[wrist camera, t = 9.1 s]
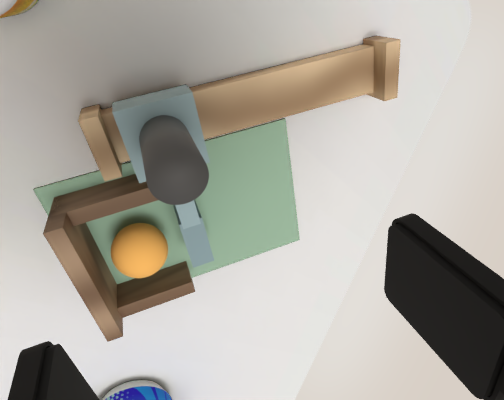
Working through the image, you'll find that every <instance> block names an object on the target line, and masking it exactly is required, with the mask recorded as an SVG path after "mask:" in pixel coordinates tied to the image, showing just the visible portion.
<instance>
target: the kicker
mask: <svg viewBox="0 0 504 400" xmlns="http://www.w3.org/2000/svg"><path fill="white" fill-rule="evenodd" d="M112 113H113V116H114V118H115V121H116V124H117V126H118V129H119V131H120V134H121V137H122V139H123V142H124V145H125V147H126V150H127V152H128V155H129V158H130V160H131V163H132V166H133V168H134V171H135V173H136V176H137V179H138V181H139V183H142V182H147V186H148V188H149V190H150V192H151V194H152V195H153V196H154V197H155V198H156V199H158V200H159V201H161V202H163V203H166V204H170V205H173V206H174V209H175V213H176V217H177V220H178V224H179V227H180V230H181V233H182V236H183V239H184V242H185V245H186V248H187V250H188V253H189V256H190V259H191V262H192V265H193V268H194V267H197V266H200V265H203V264H206V263H209V262H211V261H214V258H213V254H212V251H211V247H210V244H209V240H208V237H207V233H206V230H205V227H204V223H203V220H202V217H201V214H200V212H199V209H198V207H197V204H196V201H195V199H196V198H198V197H199V196H200V195H201V194H202V193H203V191H204V190H205V188H206V186H207V184H208V180H209V170H208V167H207V163H210V160H209V156H208V152H207V148H206V144H205V140H204V137H203V133H202V129H201V125H200V121H199V117H198V113H197V109H196V105H195V101H194V97H193V93H192V91H191V90H190V89H189V87H188V86H187V85H182V86H178V87H174V88H169V89H165V90H161V91H157V92H153V93H149V94H145V95H141V96H137V97H133V98H129V99H125V100H121V101H117V102H113V103H112Z"/></svg>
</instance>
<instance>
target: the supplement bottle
mask: <svg viewBox="0 0 504 400" xmlns="http://www.w3.org/2000/svg"><path fill="white" fill-rule="evenodd" d="M38 1H39V0H0V18H2V17H7V16H13V15H18V14H21V13H23V12H26V11H28V10H29V9H31V8H32V7H33V6H34V5H35V4H36V3H37V2H38Z"/></svg>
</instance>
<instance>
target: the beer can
mask: <svg viewBox="0 0 504 400" xmlns="http://www.w3.org/2000/svg"><path fill="white" fill-rule="evenodd" d="M102 400H172V399H171V396H170V395H169V393H168V392H167V391H165V390H164V389H163V388H162V387H161V386H160V385H159V384H157V383H155V382H153V381H148V380H135V381H130V382H126V383H123V384H121V385H118V386H117V387H115V388H113V389H112V390H110V391H109V392H108V393H107V394H106V395H105V396H104V397H103V398H102Z"/></svg>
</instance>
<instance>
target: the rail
mask: <svg viewBox="0 0 504 400" xmlns="http://www.w3.org/2000/svg"><path fill="white" fill-rule="evenodd" d="M399 56H400V39H394V38H387V37H381V36H373V37H369V38H365V39H363V44H362V45H358V46H354V47H350V48H346V49H342V50H338V51H334V52H330V53H326V54H322V55H318V56H314V57H310V58H306V59H302V60H298V61H294V62H290V63H286V64H282V65H278V66H274V67H270V68H266V69H262V70H258V71H254V72H250V73H246V74H242V75H238V76H234V77H230V78H226V79H222V80H218V81H214V82H210V83H206V84H202V85H198V86H194V87H190V88H189V89H190V90H191V91H192V93H193V97H194V101H195V105H196V109H197V113H198V117H199V121H200V125H201V129H202V133H203V137H204V139H208V138H212V137H215V136H219V135H222V134H226V133H229V132H233V131H237V130H240V129H244V128H247V127H251V126H254V125H258V124H262V123H265V122H269V121H272V120H276V119H279V118H283V117H287V116H290V115H294V114H297V113H301V112H304V111H308V110H312V109H315V108H319V107H322V106H326V105H329V104H333V103H337V102H340V101H344V100H347V99H351V98H354V97H358V96H362V95H365V94H367V95H370V96H372V97H375V98H377V99H380V100H383V101H387V100H390V99H394V98H397V93H398V74H399ZM78 122H79V124H80V126H81V129H82V131H83V133H84V135H85V138H86V140H87V142H88V145H89V147H90V149H91V151H92V154H93V156H94V158H95V161H96V163H97V165H98V167H99V170H100V172H101V174H102V176H103V179H104V181H109V180H112V179H116V178H119V177H122V162H126V161H130V158H129V155H128V152H127V150H126V147H125V145H124V142H123V139H122V137H121V134H120V131H119V129H118V126H117V124H116V121H115V118H114V116H113V113H112V107H110V108H106V109H102V110H101V107H100V105H99V104H98V105H94V106H90V107H86V108H82V109H81V113H80V116H79V120H78Z"/></svg>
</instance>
